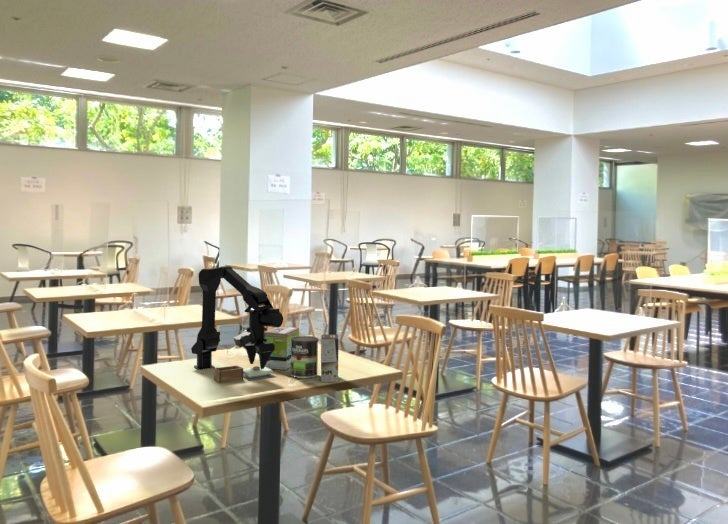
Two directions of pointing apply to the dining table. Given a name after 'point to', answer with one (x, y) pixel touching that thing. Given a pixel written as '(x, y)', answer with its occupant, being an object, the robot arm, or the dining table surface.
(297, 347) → the coffee can
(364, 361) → the dining table surface
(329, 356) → the coffee box
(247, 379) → the coaster
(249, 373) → the lid
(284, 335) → the tea box
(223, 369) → the box
